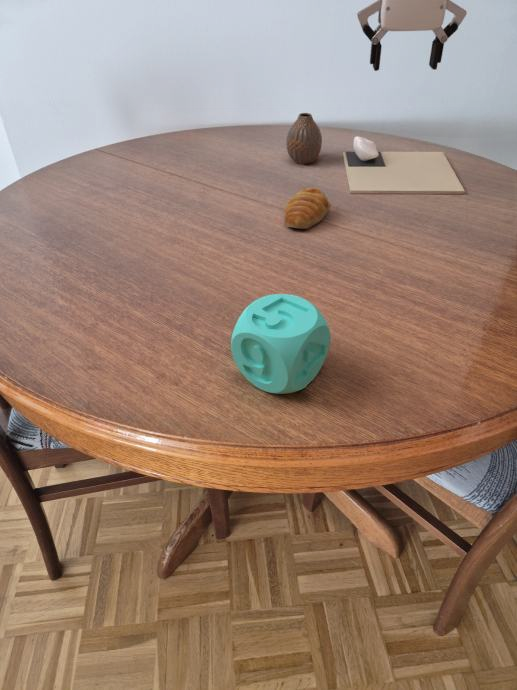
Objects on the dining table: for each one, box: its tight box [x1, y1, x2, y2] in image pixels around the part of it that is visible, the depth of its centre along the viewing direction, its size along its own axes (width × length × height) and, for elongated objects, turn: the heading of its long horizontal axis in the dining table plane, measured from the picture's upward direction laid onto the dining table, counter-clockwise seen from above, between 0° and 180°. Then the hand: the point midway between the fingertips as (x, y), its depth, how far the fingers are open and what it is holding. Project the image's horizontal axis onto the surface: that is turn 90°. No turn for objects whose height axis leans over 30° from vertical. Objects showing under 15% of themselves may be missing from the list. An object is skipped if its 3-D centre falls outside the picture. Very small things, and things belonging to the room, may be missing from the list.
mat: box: [342, 151, 466, 195], centre depth 103 cm, size 20×18×1 cm
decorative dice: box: [230, 293, 331, 395], centre depth 60 cm, size 8×8×8 cm
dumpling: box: [353, 135, 379, 161], centre depth 105 cm, size 7×5×4 cm
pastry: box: [284, 187, 332, 230], centre depth 88 cm, size 9×7×4 cm
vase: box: [285, 112, 323, 165], centre depth 105 cm, size 7×7×9 cm
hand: (404, 68), depth 93 cm, fingers open, 9 cm apart
